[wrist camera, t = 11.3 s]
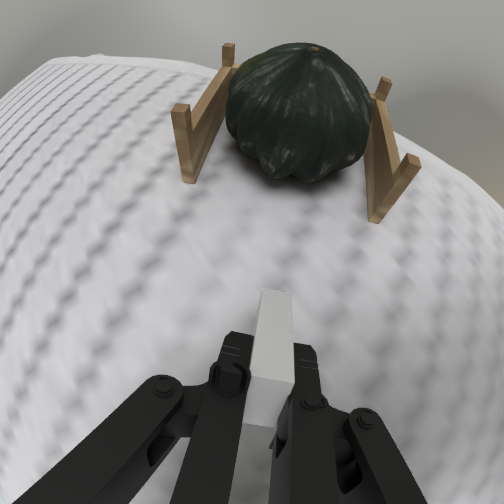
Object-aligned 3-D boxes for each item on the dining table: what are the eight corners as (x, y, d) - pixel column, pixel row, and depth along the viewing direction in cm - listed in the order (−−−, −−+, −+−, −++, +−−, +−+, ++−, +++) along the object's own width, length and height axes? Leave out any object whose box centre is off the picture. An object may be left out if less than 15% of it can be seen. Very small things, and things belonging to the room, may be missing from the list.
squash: (306, 67, 31) (261, -3, 17) (398, 131, 27) (406, 64, 13) (241, 141, 36) (166, 104, 22) (323, 215, 32) (279, 205, 19)
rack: (368, 130, 34) (390, 79, 26) (378, 224, 27) (421, 167, 19) (224, 99, 34) (225, 43, 26) (183, 182, 27) (170, 111, 19)
